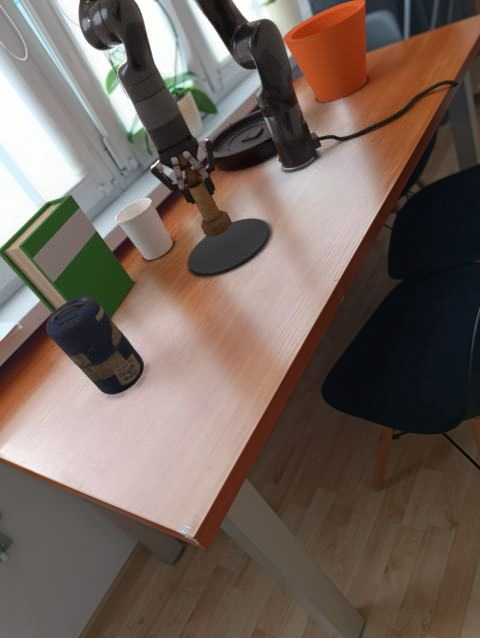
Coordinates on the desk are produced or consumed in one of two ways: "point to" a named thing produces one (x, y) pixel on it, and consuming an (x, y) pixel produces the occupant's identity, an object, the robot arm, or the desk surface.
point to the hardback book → (66, 258)
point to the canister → (95, 345)
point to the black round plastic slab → (243, 143)
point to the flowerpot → (332, 50)
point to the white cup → (145, 228)
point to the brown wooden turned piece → (205, 203)
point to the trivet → (229, 248)
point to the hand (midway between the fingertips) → (202, 197)
